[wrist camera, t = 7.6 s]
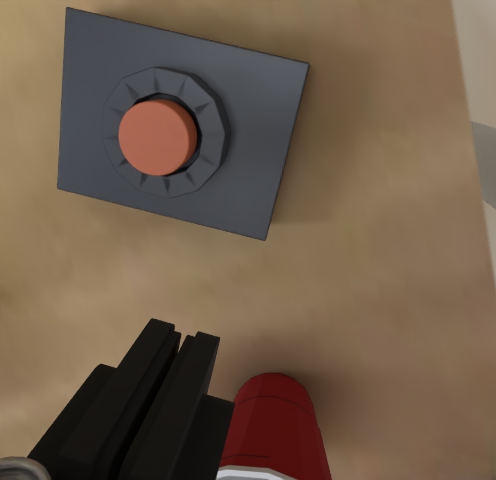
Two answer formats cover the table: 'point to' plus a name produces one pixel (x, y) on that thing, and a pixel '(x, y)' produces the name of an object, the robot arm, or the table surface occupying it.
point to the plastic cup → (273, 433)
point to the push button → (157, 136)
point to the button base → (195, 103)
